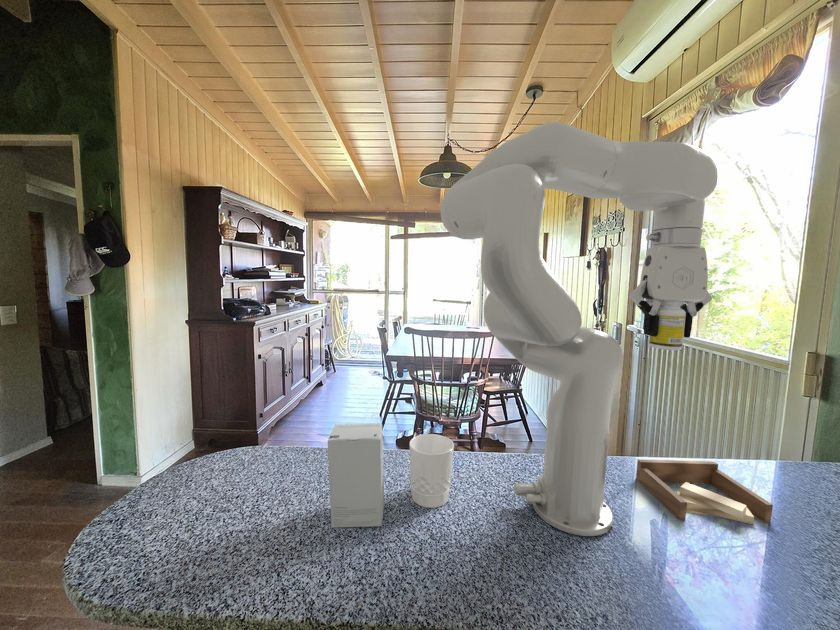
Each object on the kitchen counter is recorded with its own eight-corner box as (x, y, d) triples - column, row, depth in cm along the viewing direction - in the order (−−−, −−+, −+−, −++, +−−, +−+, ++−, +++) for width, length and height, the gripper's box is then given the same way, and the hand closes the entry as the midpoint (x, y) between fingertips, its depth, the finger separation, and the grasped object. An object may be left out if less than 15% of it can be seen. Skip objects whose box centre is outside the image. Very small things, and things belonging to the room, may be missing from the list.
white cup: (449, 514, 59) (451, 456, 58) (403, 506, 61) (404, 451, 60) (454, 487, 67) (456, 436, 66) (413, 481, 69) (414, 431, 68)
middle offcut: (679, 507, 62) (680, 500, 62) (675, 498, 65) (675, 491, 65) (753, 524, 58) (754, 517, 58) (745, 513, 61) (746, 506, 61)
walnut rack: (678, 522, 59) (681, 496, 58) (635, 480, 71) (637, 459, 70) (770, 524, 59) (773, 499, 58) (711, 483, 71) (714, 461, 70)
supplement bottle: (652, 344, 73) (657, 296, 72) (684, 348, 69) (690, 297, 68) (645, 347, 69) (650, 296, 68) (679, 351, 65) (684, 298, 64)
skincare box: (384, 505, 61) (385, 422, 60) (381, 529, 55) (383, 438, 54) (335, 505, 61) (335, 421, 59) (327, 529, 55) (327, 437, 53)
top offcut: (679, 493, 64) (680, 486, 64) (685, 488, 66) (685, 481, 65) (741, 519, 57) (742, 511, 57) (745, 512, 59) (746, 505, 59)
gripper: (642, 236, 63) (633, 337, 65) (739, 239, 63) (727, 340, 65) (619, 241, 71) (611, 331, 72) (705, 243, 70) (696, 334, 72)
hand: (666, 334), depth 69 cm, fingers closed on supplement bottle, 5 cm apart
